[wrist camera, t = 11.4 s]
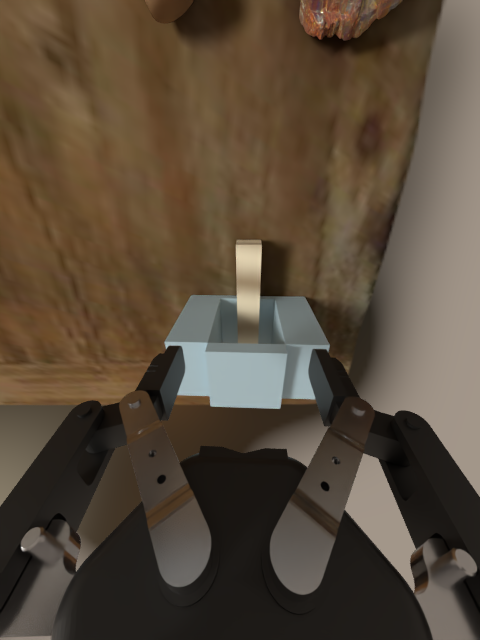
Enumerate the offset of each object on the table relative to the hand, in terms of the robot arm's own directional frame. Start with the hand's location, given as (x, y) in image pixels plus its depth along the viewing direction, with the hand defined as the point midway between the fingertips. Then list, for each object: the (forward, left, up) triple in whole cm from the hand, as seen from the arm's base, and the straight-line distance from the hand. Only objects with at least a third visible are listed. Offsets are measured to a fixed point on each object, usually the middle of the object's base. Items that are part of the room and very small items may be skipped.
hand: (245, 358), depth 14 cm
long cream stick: (+7, 0, -19) cm, 20 cm away
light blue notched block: (+9, 0, -20) cm, 22 cm away
